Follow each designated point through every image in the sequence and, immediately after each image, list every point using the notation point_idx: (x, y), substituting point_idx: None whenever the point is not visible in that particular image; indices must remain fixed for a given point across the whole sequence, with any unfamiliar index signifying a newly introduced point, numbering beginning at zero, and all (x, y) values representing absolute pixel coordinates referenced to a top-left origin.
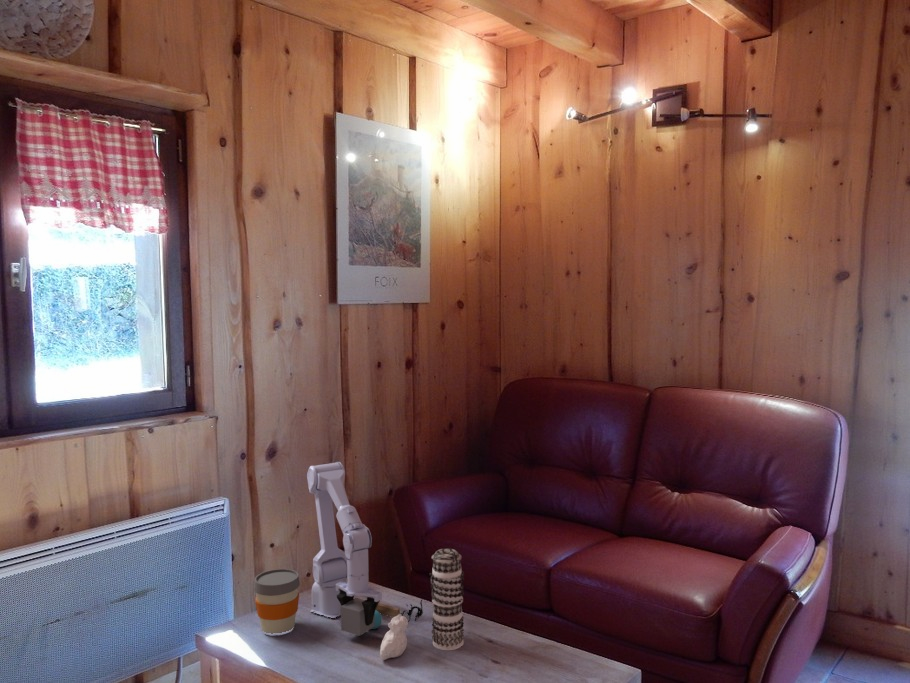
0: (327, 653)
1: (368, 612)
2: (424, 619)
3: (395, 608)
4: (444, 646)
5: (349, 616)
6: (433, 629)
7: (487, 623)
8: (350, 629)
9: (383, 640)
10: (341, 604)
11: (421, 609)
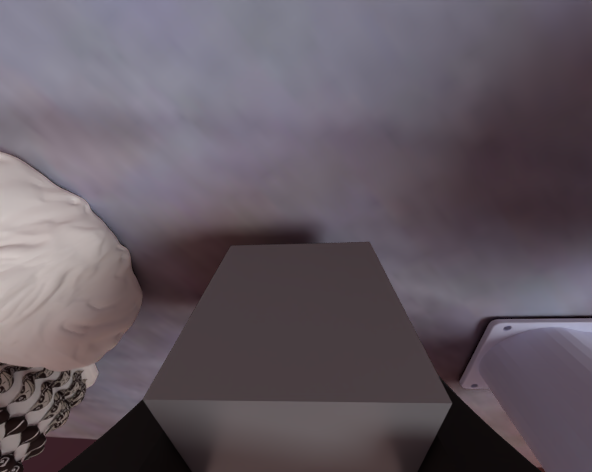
0: (325, 44)
1: (129, 412)
2: None
3: None
4: None
5: (301, 321)
6: (19, 394)
7: (91, 437)
8: (296, 254)
9: (14, 246)
10: (474, 424)
11: None
